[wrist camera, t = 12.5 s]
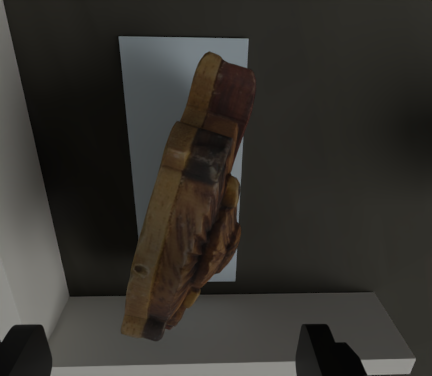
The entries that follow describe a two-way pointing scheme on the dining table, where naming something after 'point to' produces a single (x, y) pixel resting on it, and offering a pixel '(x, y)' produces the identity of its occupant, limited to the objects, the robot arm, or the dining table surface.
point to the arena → (115, 305)
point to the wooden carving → (191, 201)
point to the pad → (166, 105)
